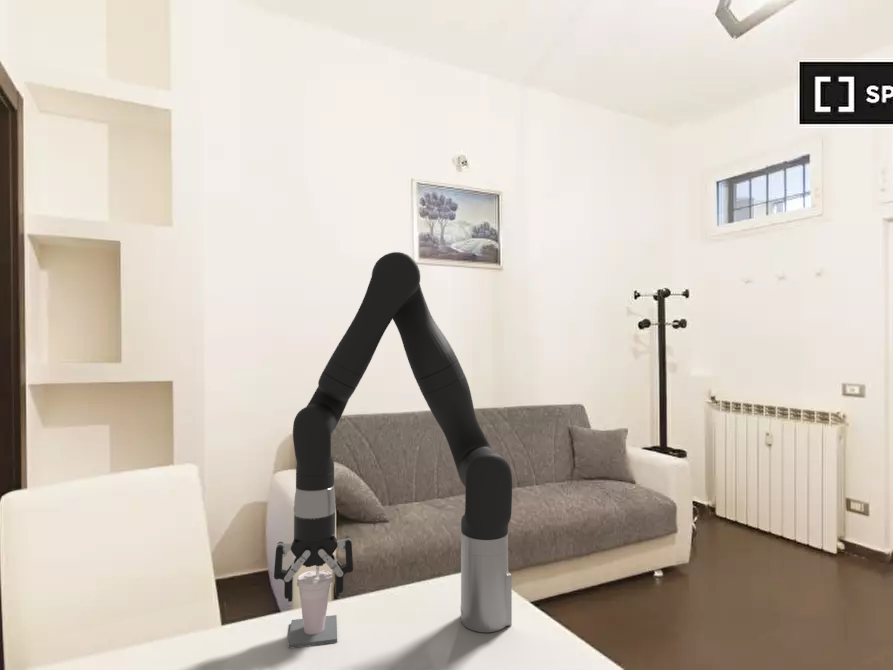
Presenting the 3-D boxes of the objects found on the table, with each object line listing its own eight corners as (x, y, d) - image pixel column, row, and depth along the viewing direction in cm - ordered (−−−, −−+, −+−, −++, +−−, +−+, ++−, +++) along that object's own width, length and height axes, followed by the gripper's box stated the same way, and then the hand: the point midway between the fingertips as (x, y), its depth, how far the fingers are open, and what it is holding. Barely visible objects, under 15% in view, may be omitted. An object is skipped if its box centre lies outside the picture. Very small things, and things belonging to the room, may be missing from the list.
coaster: (336, 618, 101) (336, 614, 101) (337, 642, 93) (337, 638, 93) (291, 623, 99) (291, 620, 99) (288, 648, 91) (288, 644, 91)
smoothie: (322, 640, 92) (323, 561, 93) (290, 636, 93) (290, 559, 94) (337, 621, 99) (337, 548, 99) (306, 618, 100) (306, 545, 100)
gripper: (352, 501, 102) (351, 584, 101) (277, 506, 99) (276, 591, 98) (354, 513, 95) (353, 602, 94) (273, 519, 91) (272, 611, 91)
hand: (314, 597), depth 96 cm, fingers open, 8 cm apart
